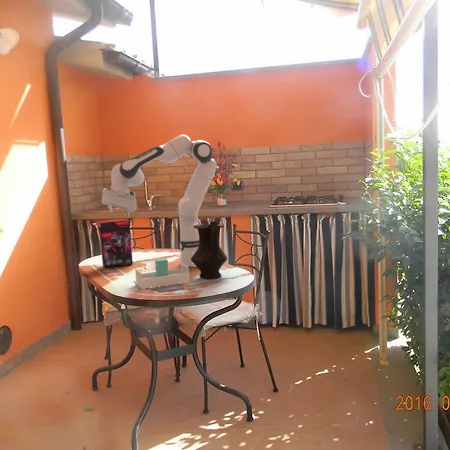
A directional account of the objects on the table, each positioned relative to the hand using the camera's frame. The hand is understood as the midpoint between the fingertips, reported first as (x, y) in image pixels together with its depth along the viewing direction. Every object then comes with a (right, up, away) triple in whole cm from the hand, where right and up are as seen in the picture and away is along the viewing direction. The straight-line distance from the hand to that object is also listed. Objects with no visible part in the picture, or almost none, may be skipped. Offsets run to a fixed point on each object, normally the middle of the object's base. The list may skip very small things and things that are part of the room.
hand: (119, 214), depth 269 cm
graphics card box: (-7, -30, +28) cm, 42 cm away
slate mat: (+30, -35, -30) cm, 55 cm away
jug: (+49, -32, -11) cm, 60 cm away
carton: (+24, -34, -17) cm, 45 cm away
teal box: (+26, -34, -20) cm, 47 cm away
